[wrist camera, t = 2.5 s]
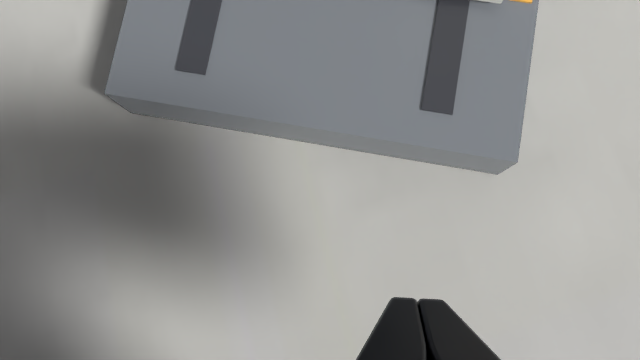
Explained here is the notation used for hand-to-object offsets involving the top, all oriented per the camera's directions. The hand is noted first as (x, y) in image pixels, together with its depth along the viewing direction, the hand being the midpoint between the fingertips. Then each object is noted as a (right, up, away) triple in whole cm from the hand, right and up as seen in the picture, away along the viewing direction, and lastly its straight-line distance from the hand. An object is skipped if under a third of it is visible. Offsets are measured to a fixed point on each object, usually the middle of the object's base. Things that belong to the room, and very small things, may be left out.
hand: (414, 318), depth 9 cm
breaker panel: (-1, +10, +14) cm, 17 cm away
